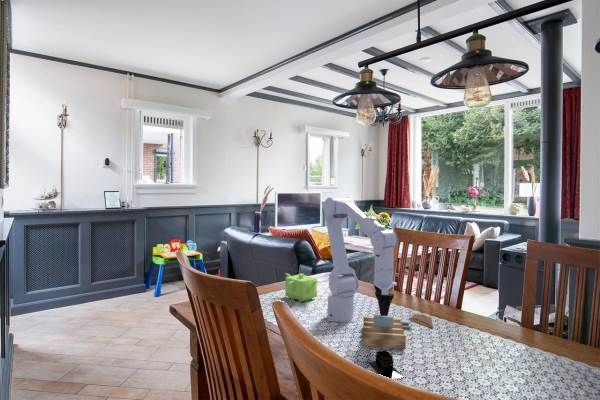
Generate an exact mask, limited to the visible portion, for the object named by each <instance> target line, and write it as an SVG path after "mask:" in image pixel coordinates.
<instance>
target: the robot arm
mask: <svg viewBox="0 0 600 400" xmlns="http://www.w3.org/2000/svg"><path fill="white" fill-rule="evenodd" d="M322 208H323V215H324V219H325V222H326V228H327V234H328V239H329V240H328V241H329V245H330V252H331V258H332V264H333V269H332V270H331V271H330V273H329V274H328V281H329V282H328V288H329V289H328V290H329V291H330V293H328V295H327V296H328V297H327V309H326V314H327V322H337V323H338V322H339V323H341V322H342V323H355V321H356V319H355V317H356V316H355V313H354V309H355V307H354V305H355V304H354V303H355V302H354V301H355V300H354V299H355V297H354V296H355V295H356V292H357V291H358V290H359V287H360V281H359V279H358V278H357V275H356V270H355V269H353V268H352V267H350V266H349V262H348V261H349V260H348V255H347V249H346V244H345V239H344V234H343V227H342V223H343V222H344V221H345V220H346V219H348V218H349V217H350V219H352V220H354V222H356V223H357V224H359V230H360V231H361V232H362V233H364V235H366V236H367V237H368V239H370V243H371V245H372V251H373V254H374V276H373V277H374V281H373V288H374V290H375V292H374V295H375V297H376V300H377V303H378V309H379V315H381V316H388V315H389V312H390V307H391V303H392V301H393V300H394V297H395V293H390V291H391V289H392V288H393V287H396V286H397V285H398V284H397V282H396V281H394V255H395V253H394V252H395V251H394V249H395V247H396V246H397V245H398V242H399V238H398V235H397V232H395V230H394V229H388V228H385V225H383V224H381V223H380V222H378V221H377V220H376V219H377V218H376V217H374V216H366V214H364V212H362V210H361V209H359V207H358V206H357V205H356V203H355V200H353V199H352V198H351V197H332V196H331V197H330V196H329V197H327V198H325V200H324V202H323V205H322Z"/></svg>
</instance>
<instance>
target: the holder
mask: <svg viewBox="0 0 600 400" xmlns="http://www.w3.org/2000/svg"><path fill="white" fill-rule="evenodd" d="M400 324H402V329H404V330H406V331H407V330H408V331H409V330H410V331H411V330H412V329H411V326H410V323H409V321H400Z"/></svg>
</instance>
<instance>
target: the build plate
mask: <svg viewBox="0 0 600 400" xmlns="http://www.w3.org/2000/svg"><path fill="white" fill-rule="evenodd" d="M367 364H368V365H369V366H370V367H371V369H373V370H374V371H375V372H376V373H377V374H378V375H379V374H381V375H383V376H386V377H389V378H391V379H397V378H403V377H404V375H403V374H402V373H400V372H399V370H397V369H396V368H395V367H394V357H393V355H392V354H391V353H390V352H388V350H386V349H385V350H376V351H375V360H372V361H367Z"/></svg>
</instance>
